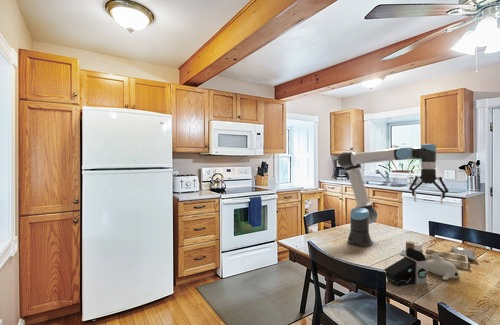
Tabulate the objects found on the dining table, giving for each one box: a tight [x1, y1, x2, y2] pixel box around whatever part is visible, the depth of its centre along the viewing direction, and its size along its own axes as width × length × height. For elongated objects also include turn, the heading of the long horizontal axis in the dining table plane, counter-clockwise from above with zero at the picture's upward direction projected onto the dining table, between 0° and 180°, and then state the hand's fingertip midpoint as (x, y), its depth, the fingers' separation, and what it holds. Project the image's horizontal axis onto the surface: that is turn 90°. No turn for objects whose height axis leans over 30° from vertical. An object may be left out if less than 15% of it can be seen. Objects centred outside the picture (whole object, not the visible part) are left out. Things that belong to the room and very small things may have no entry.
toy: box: [427, 254, 460, 281], centre depth 130 cm, size 17×19×10 cm
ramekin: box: [410, 240, 423, 252], centre depth 164 cm, size 8×8×4 cm
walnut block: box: [405, 240, 414, 254], centre depth 155 cm, size 4×4×7 cm
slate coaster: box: [399, 249, 406, 257], centre depth 155 cm, size 9×9×1 cm
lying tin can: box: [451, 246, 475, 262], centre depth 148 cm, size 10×6×6 cm, turn 52°
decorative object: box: [383, 247, 428, 287], centre depth 121 cm, size 8×18×15 cm, turn 103°
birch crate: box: [423, 248, 469, 270], centre depth 145 cm, size 20×12×4 cm, turn 52°
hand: (427, 202), depth 159 cm, fingers open, 13 cm apart
